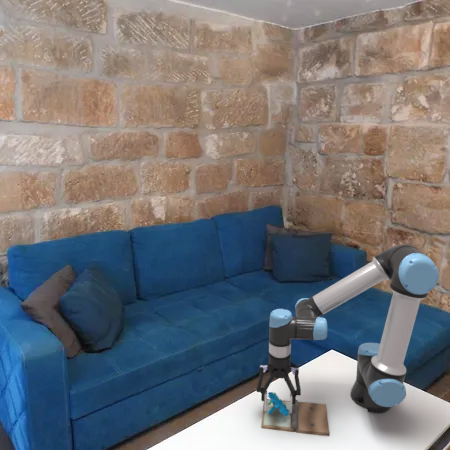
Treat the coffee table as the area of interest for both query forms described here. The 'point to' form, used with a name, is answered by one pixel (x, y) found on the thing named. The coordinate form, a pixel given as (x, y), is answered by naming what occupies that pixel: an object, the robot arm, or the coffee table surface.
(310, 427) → the hinge board
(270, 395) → the gear
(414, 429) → the coffee table surface
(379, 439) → the coffee table surface
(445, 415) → the coffee table surface
